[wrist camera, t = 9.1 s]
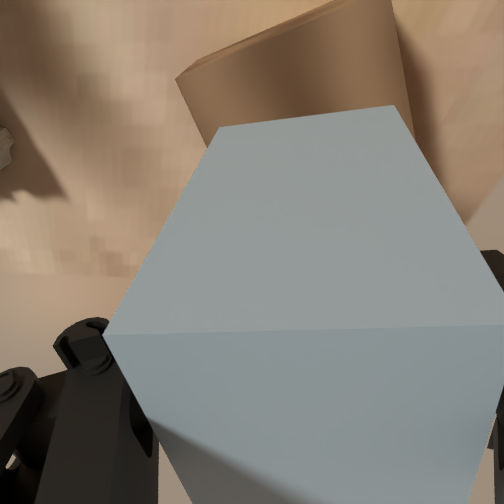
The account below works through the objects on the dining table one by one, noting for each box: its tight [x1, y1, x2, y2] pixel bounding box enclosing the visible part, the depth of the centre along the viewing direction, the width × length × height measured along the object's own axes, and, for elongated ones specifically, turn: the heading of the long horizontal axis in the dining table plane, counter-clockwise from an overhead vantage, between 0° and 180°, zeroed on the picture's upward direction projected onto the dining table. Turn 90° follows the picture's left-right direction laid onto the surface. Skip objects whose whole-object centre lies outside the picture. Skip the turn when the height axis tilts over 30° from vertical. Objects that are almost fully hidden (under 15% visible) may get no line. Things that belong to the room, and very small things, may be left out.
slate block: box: [102, 105, 504, 504], centre depth 11 cm, size 6×6×10 cm
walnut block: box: [175, 0, 416, 148], centre depth 22 cm, size 10×10×5 cm
